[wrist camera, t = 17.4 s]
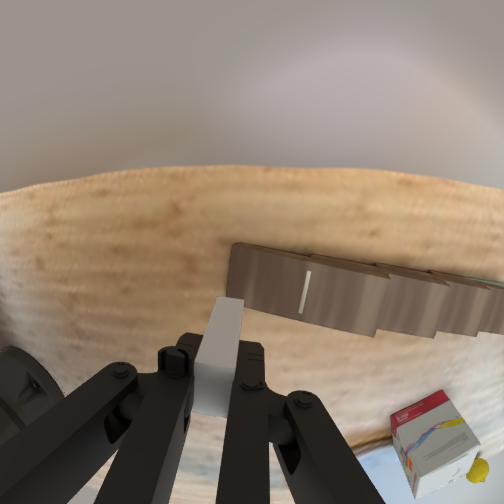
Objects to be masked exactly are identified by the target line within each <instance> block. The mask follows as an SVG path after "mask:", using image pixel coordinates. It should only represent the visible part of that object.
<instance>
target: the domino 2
mask: <svg viewBox="0 0 504 504" xmlns="http://www.w3.org/2000/svg"><path fill="white" fill-rule="evenodd" d="M311 257H312V258H316V259H321V260H326V261H330V262H335V263H340V264H344V265H349V266H354V267H358V268H363V269H367V270H372V271H377V272H381V273H386V274H389V276H390V278H391V284H390V287H389V291H388V294H387V298H386V301H385V305H384V308H383V311H382V314H381V318H380V321H379V324H378V327H377V329H381V330H387V331H392V332H398V333H403V334H409V335H415V336H421V337H427V338H433V339H434V337H435V334H436V331H437V329H438V326H439V323H440V320H441V318H442V315H443V312H444V309H445V306H446V302H447V299H448V296H449V293H450V289H451V286H450V285H449V284H448V283H446V282H445V281H442V280H437V279H432V278H428V277H423V276H418V275H414V274H409V273H404V272H399V271H395V270H390V269H385V268H380V267H375V266H370V265H366V264H361V263H356V262H351V261H346V260H341V259H336V258H331V257H326V256H321V255H316V254H312V255H311Z"/></svg>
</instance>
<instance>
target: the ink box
mask: <svg viewBox="0 0 504 504" xmlns="http://www.w3.org/2000/svg"><path fill="white" fill-rule="evenodd" d="M391 425H392V436H393V446H394V448H395V450H396V452H397V455H398V457H399V460H400V462H401V465H402V467H403V469H404V472H405V474H406V477H407V480H408V482H409V485H410V488H411V490H412V493H413V496H414V498H415V500H417V499H419V498H421V497H423V496H425V495H428V494H430V493H432V492H434V491H436V490H438V489H440V488H442V487H444V486H446V485H448V484H450V483H452V482H454V481H455V480H457V479H458V478H460V477H462V476H463V475H465V474H467V473H468V472H469V470H470V468H471V466H472V464H473V461H474V459H475V457H476V455H477V452H478V450H479V448H480V445H481V444H480V442H479V441H478V439H477V438H476V436H475V435H474V433H473V432H472V430H471V429H470V427H469V426H468V425H467V423H466V422H465V420H464V419H463V418H462V416H461V415H460V413H459V412H458V411H457V409H456V408H455V406H454V405H453V404H452V402H451V401H450V399H449V398H448V397H447V395H446V394H445V393H444V391H443V390H440V391H438V392H436V393H434V394H433V395H431V396H429V397H427V398H425V399H423V400H421V401H419V402H417V403H415V404H413V405H411V406H409V407H407V408H405V409H403V410H401V411H399V412H397V413H395V414H393V415H391Z"/></svg>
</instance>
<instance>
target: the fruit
mask: <svg viewBox="0 0 504 504" xmlns="http://www.w3.org/2000/svg"><path fill="white" fill-rule="evenodd" d="M488 472H489V466H488V463H487V462H486V461H485V460H484V459H482V458H477V459H474V461H473V464H472V466H471V468H470V470H469V472H468V473H467V474H466V477H467V479H468V480H469V481H470V482H472V483H478V482H484V481H485V478H486V476H487V474H488Z"/></svg>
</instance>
